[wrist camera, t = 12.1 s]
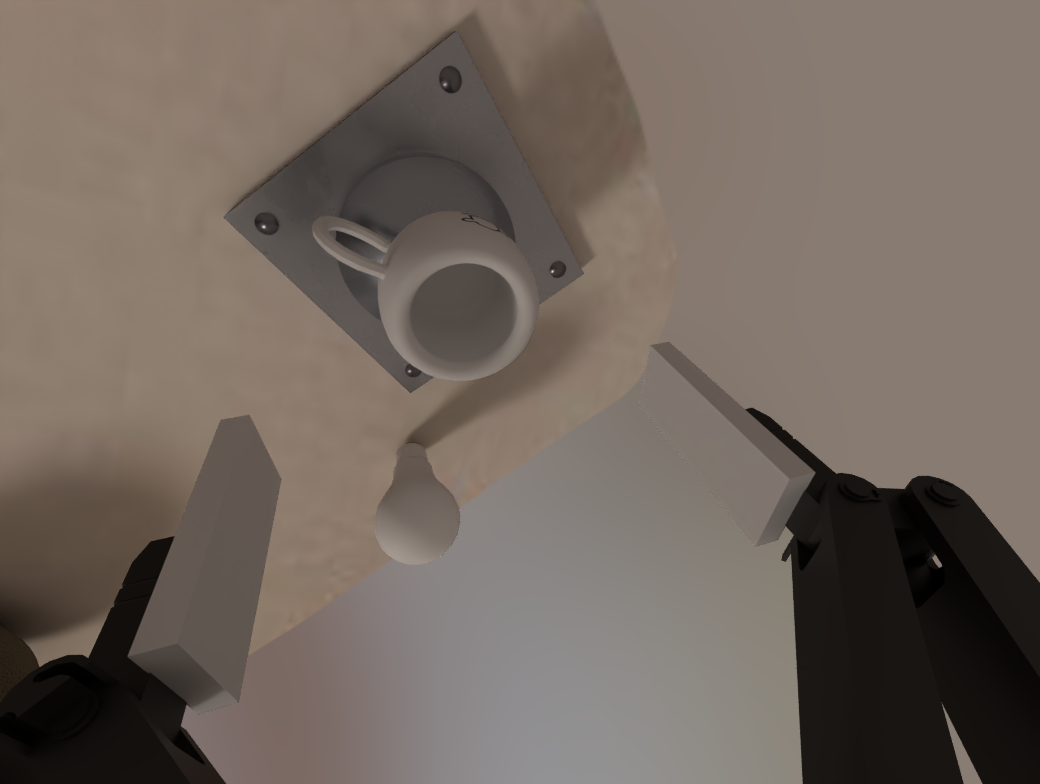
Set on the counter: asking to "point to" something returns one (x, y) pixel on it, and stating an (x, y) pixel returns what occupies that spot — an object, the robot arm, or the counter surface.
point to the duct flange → (403, 193)
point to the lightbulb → (416, 511)
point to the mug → (447, 291)
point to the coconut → (14, 661)
